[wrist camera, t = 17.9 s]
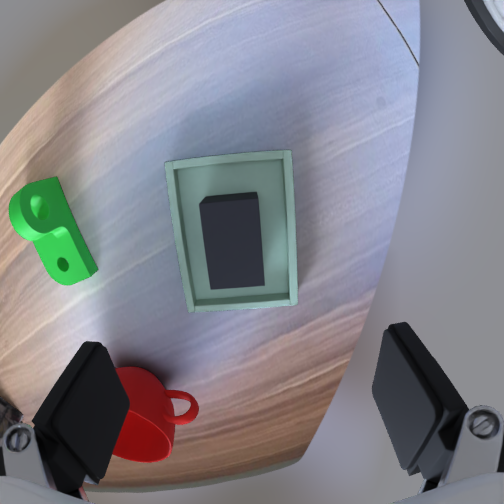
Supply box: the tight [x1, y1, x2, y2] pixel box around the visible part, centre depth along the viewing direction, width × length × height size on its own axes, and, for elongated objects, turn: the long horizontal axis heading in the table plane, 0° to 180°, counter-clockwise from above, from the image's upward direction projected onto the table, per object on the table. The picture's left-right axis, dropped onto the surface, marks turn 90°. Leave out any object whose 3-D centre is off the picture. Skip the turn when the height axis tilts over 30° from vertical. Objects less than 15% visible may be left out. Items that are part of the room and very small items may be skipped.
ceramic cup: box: [112, 366, 199, 463], centre depth 32 cm, size 13×17×10 cm
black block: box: [199, 192, 265, 290], centre depth 28 cm, size 5×8×4 cm, turn 5°
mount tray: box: [165, 150, 298, 313], centre depth 29 cm, size 12×16×2 cm
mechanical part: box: [9, 177, 98, 285], centre depth 26 cm, size 12×6×8 cm, turn 21°
